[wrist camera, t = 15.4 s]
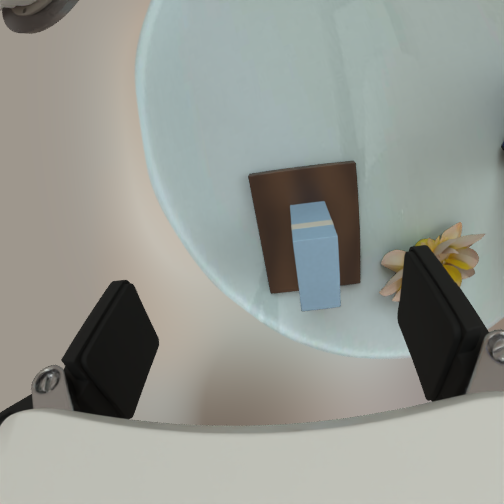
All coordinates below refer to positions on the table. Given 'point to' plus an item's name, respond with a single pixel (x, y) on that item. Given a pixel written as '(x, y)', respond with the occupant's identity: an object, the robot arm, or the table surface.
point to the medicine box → (315, 256)
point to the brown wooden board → (299, 192)
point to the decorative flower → (448, 253)
